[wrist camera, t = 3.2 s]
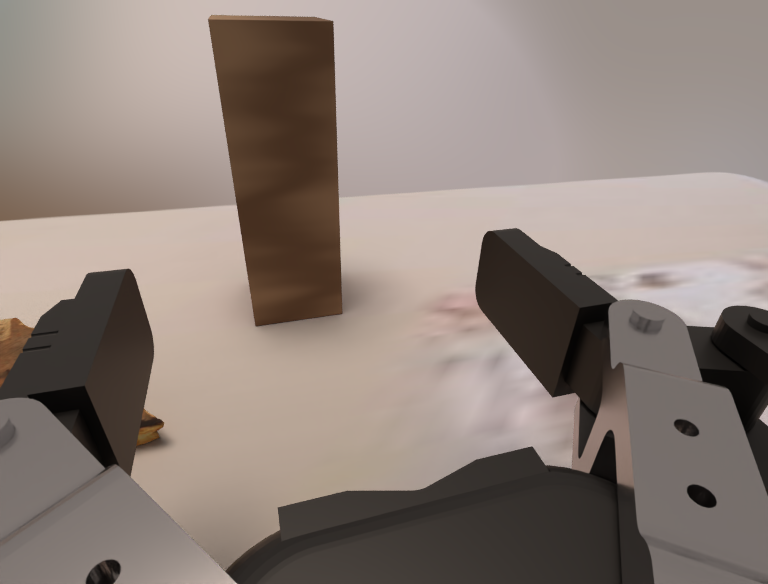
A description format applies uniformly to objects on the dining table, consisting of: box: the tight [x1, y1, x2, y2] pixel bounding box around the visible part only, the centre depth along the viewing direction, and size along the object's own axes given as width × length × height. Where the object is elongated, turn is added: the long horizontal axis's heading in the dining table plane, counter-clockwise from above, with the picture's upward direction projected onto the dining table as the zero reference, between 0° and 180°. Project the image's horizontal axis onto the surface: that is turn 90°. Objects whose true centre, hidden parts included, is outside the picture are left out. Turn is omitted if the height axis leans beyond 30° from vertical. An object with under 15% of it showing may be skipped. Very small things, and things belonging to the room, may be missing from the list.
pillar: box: [208, 15, 342, 326], centre depth 20 cm, size 4×4×12 cm
